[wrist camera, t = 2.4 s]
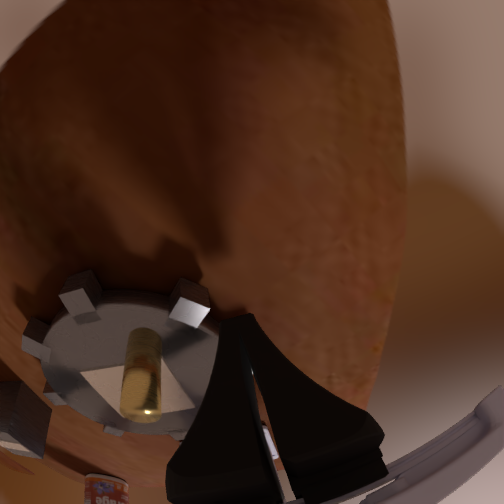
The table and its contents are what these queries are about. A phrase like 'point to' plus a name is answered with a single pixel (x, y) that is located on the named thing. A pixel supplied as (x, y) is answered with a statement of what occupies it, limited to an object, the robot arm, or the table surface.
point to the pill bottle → (105, 490)
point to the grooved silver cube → (23, 420)
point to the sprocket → (128, 355)
